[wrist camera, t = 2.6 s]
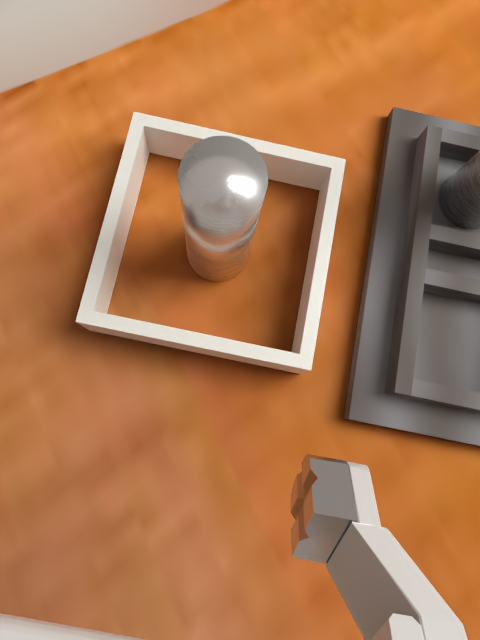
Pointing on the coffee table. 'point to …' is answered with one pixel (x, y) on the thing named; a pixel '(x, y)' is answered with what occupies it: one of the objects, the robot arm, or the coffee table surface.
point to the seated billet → (463, 195)
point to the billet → (221, 204)
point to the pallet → (419, 290)
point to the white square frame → (140, 142)
